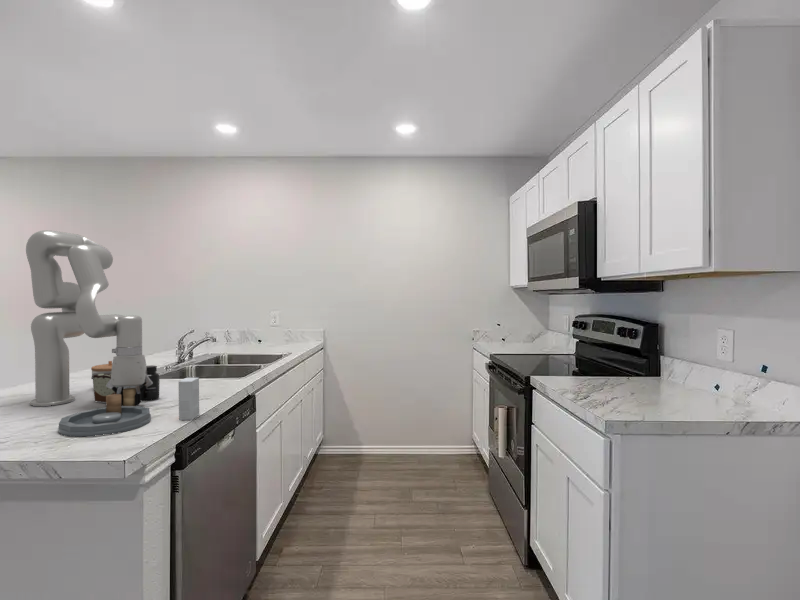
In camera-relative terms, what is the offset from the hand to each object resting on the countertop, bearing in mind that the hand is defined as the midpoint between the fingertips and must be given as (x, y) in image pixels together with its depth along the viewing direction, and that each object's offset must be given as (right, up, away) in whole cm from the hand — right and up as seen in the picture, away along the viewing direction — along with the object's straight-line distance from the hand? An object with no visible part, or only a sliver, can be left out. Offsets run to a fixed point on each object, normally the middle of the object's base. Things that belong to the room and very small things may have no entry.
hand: (129, 404), depth 154 cm
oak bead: (0, -1, 0) cm, 1 cm away
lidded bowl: (-25, 0, +28) cm, 38 cm away
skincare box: (+26, -1, -13) cm, 30 cm away
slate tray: (+6, -1, -21) cm, 22 cm away
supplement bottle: (+1, -1, +10) cm, 10 cm away
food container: (-11, -1, +8) cm, 14 cm away
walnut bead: (+4, 0, -15) cm, 16 cm away
